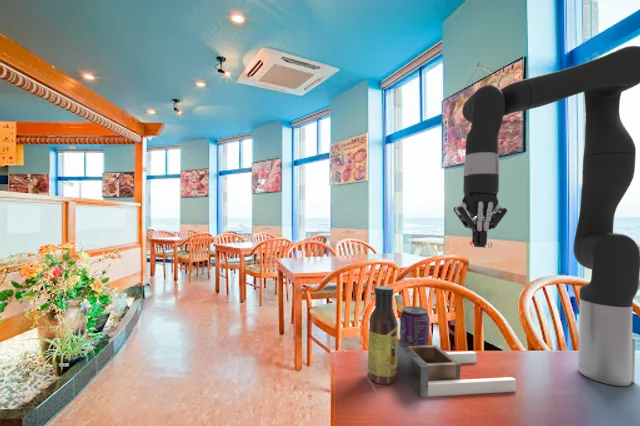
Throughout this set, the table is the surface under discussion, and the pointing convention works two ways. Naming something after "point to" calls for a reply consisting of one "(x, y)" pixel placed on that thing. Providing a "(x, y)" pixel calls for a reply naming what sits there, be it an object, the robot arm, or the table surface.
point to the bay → (418, 379)
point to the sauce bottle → (383, 338)
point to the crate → (438, 363)
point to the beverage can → (414, 326)
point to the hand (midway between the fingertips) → (479, 246)
